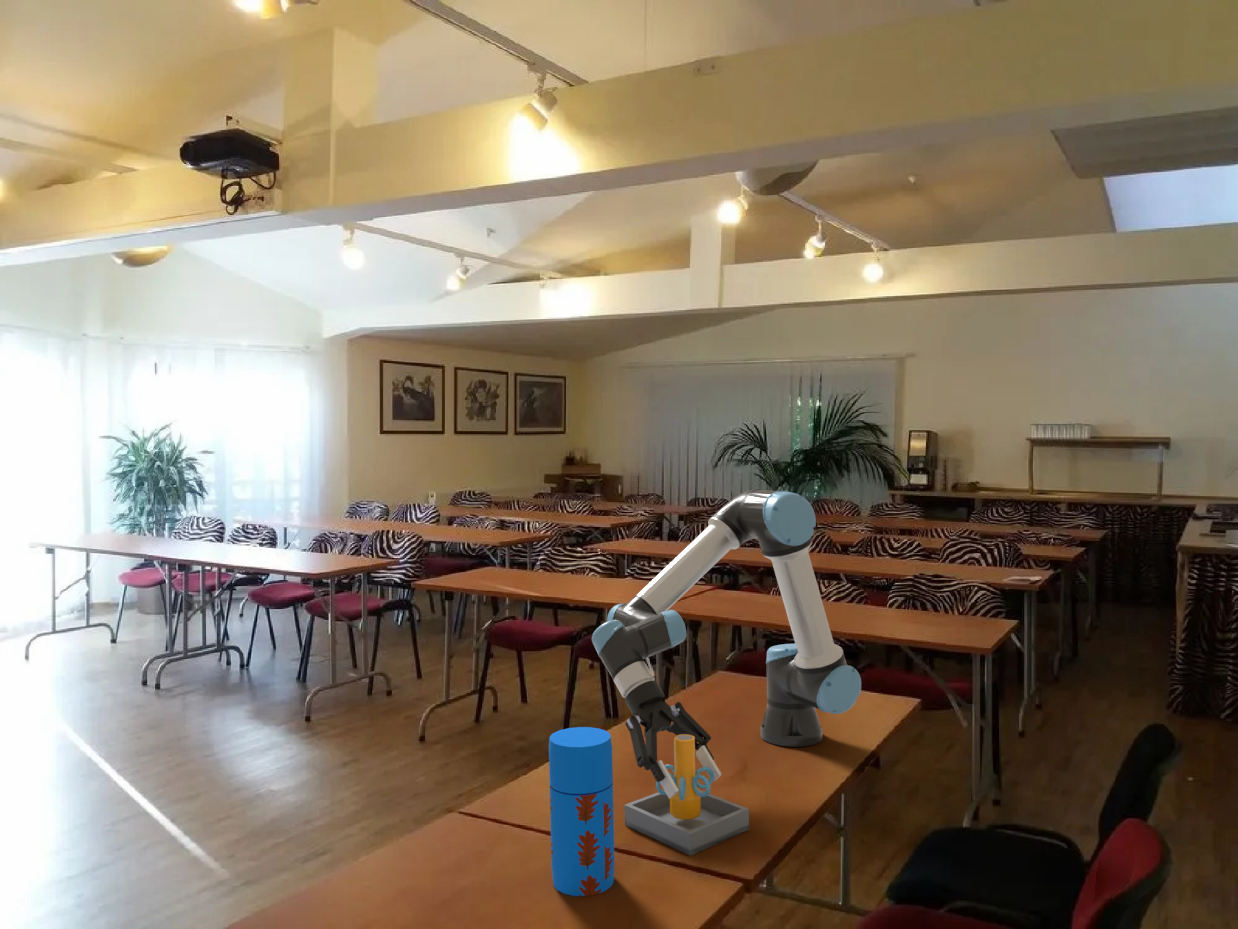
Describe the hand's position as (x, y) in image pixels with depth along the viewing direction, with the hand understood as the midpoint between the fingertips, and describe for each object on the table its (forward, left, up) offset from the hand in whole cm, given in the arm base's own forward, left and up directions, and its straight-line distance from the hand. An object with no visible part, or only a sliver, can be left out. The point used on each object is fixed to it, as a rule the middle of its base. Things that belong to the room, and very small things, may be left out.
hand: (696, 786), depth 176 cm
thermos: (+28, 0, -9) cm, 29 cm away
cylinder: (0, -3, -6) cm, 7 cm away
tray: (0, -3, -9) cm, 9 cm away
